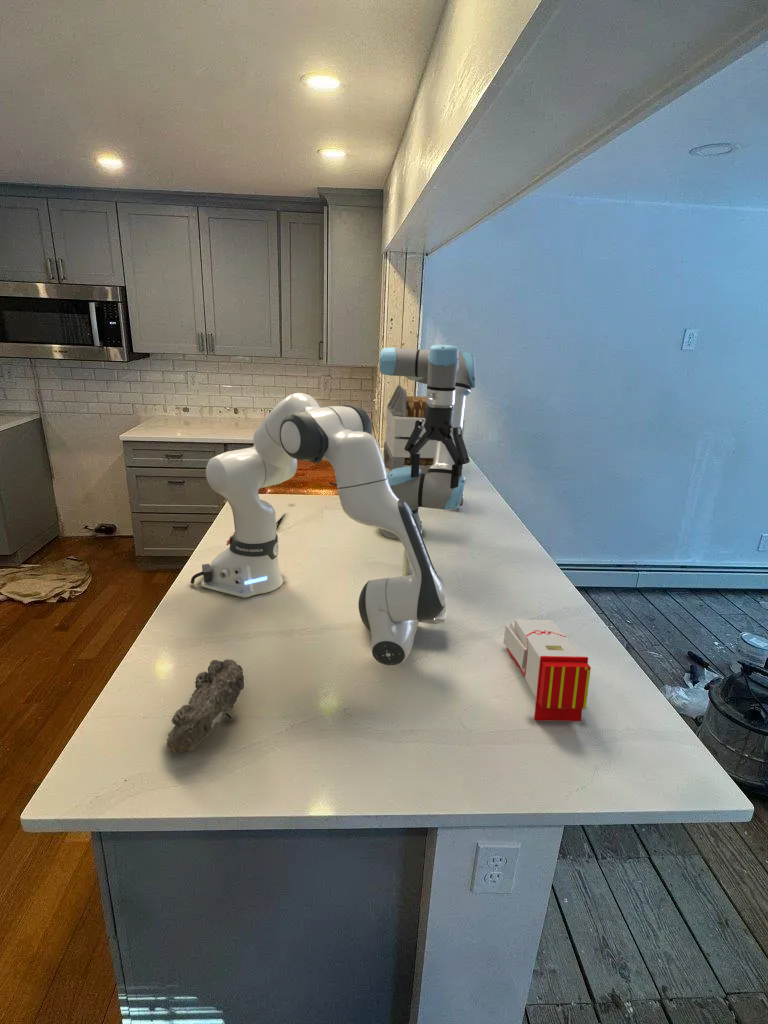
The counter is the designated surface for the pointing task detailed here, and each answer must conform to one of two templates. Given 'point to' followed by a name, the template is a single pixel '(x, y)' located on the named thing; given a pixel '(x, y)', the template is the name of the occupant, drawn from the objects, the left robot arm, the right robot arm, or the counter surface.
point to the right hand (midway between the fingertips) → (433, 482)
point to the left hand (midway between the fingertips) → (409, 590)
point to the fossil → (206, 705)
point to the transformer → (405, 430)
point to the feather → (279, 521)
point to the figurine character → (461, 502)
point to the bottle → (406, 566)
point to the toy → (549, 668)
